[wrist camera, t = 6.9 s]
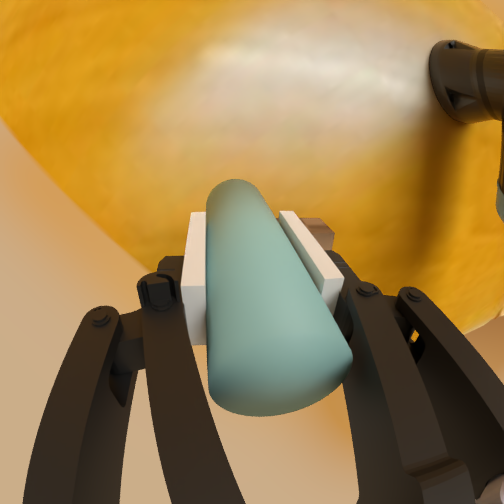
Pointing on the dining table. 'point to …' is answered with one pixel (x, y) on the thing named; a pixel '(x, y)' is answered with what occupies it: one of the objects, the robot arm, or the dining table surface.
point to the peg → (264, 312)
